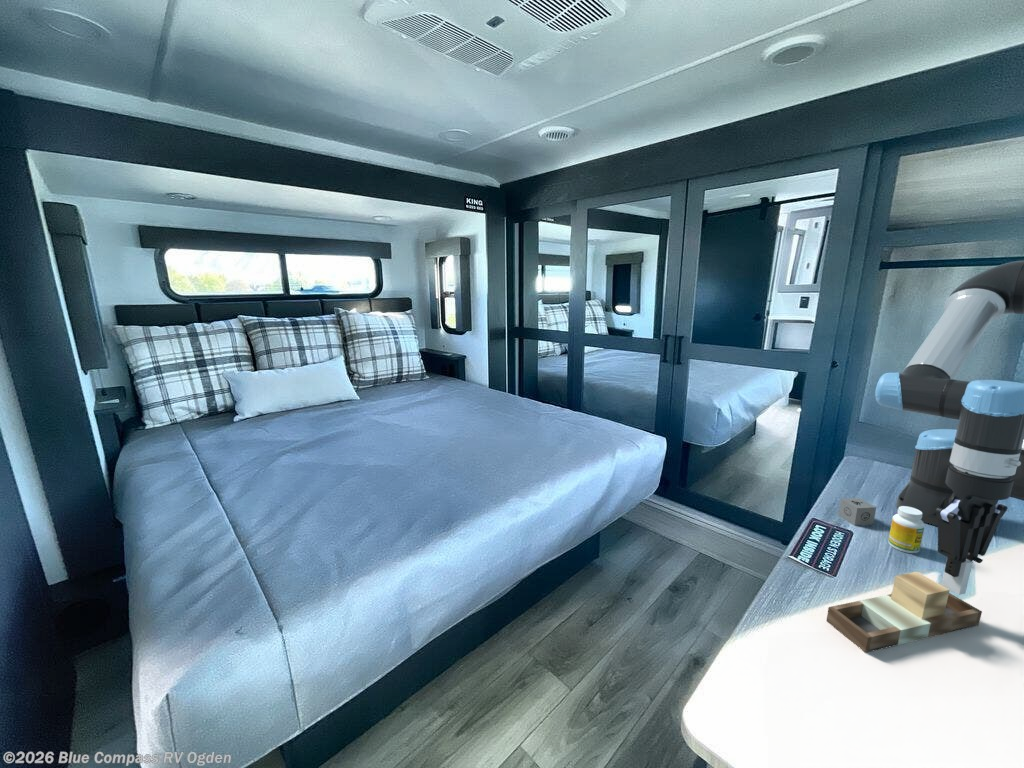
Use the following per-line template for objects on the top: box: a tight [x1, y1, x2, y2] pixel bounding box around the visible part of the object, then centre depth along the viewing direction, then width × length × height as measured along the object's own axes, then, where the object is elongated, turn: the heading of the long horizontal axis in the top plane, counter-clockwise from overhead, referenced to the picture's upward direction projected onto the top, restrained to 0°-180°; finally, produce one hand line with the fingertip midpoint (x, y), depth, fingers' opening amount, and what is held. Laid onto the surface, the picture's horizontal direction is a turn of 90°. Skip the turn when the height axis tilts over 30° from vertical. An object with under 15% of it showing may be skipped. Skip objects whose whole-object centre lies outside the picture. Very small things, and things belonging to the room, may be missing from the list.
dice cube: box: [838, 497, 877, 527], centre depth 107 cm, size 5×5×5 cm
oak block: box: [891, 571, 951, 619], centre depth 74 cm, size 5×5×5 cm
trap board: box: [826, 592, 983, 653], centre depth 74 cm, size 25×7×3 cm, turn 101°
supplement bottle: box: [887, 506, 925, 554], centre depth 95 cm, size 5×5×10 cm
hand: (952, 589), depth 75 cm, fingers closed
